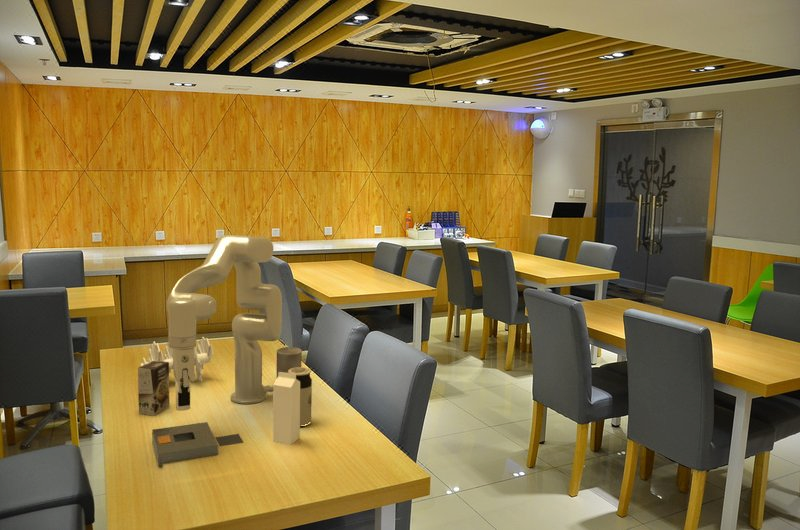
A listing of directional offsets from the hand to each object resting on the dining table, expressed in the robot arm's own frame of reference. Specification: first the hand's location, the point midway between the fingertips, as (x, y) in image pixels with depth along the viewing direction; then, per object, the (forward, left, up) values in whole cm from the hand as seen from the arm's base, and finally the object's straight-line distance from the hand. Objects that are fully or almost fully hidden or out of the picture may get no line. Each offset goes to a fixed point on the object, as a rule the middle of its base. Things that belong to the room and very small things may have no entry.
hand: (183, 402), depth 182 cm
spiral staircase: (-5, -61, -15) cm, 63 cm away
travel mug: (-37, -7, -15) cm, 41 cm away
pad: (-13, 0, -15) cm, 20 cm away
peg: (0, 0, -2) cm, 2 cm away
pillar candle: (-45, -46, -15) cm, 66 cm away
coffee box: (+5, -36, -15) cm, 40 cm away
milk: (-29, +6, -15) cm, 33 cm away
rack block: (0, 0, -15) cm, 15 cm away
